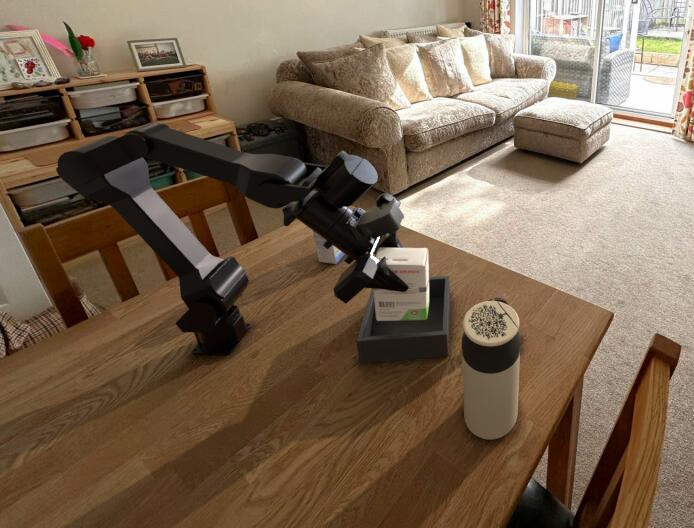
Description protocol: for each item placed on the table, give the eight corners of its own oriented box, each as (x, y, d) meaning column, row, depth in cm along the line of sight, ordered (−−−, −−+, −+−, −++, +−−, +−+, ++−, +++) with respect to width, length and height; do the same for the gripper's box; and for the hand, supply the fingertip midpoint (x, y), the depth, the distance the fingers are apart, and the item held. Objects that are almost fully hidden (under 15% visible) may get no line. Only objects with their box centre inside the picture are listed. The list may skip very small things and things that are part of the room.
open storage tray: (359, 363, 67) (356, 341, 65) (376, 300, 81) (374, 280, 79) (448, 356, 69) (447, 334, 67) (450, 295, 82) (449, 275, 81)
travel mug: (474, 450, 55) (472, 354, 49) (457, 399, 62) (453, 308, 55) (526, 427, 58) (531, 333, 52) (505, 381, 65) (507, 292, 58)
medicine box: (335, 265, 90) (330, 232, 87) (318, 262, 91) (311, 229, 88) (355, 244, 97) (350, 213, 94) (338, 242, 98) (333, 211, 95)
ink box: (430, 300, 73) (429, 246, 68) (426, 321, 68) (426, 265, 64) (381, 300, 72) (377, 245, 67) (374, 321, 67) (370, 265, 63)
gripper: (346, 224, 52) (435, 291, 57) (384, 164, 70) (449, 219, 74) (294, 272, 55) (383, 333, 60) (343, 203, 72) (409, 254, 77)
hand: (410, 278), depth 68 cm, fingers closed on ink box, 5 cm apart
